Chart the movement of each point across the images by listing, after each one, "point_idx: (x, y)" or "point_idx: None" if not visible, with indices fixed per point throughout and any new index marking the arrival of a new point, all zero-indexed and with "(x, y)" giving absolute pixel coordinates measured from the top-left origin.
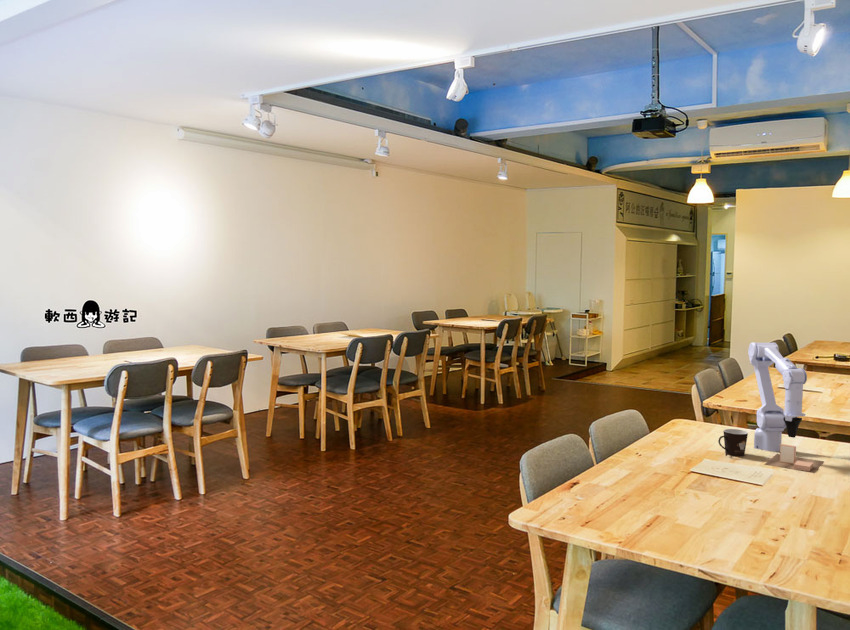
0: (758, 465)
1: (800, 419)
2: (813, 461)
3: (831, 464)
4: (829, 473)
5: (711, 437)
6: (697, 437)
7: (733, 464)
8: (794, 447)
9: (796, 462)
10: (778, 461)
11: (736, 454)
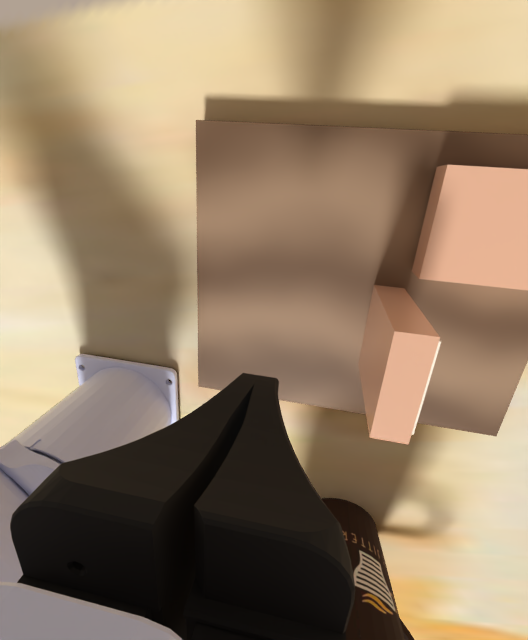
0: (446, 445)
1: (157, 529)
2: (245, 187)
3: (165, 78)
4: (440, 45)
5: None
6: None
7: (486, 535)
8: (435, 340)
9: (500, 281)
10: None
11: (380, 548)
